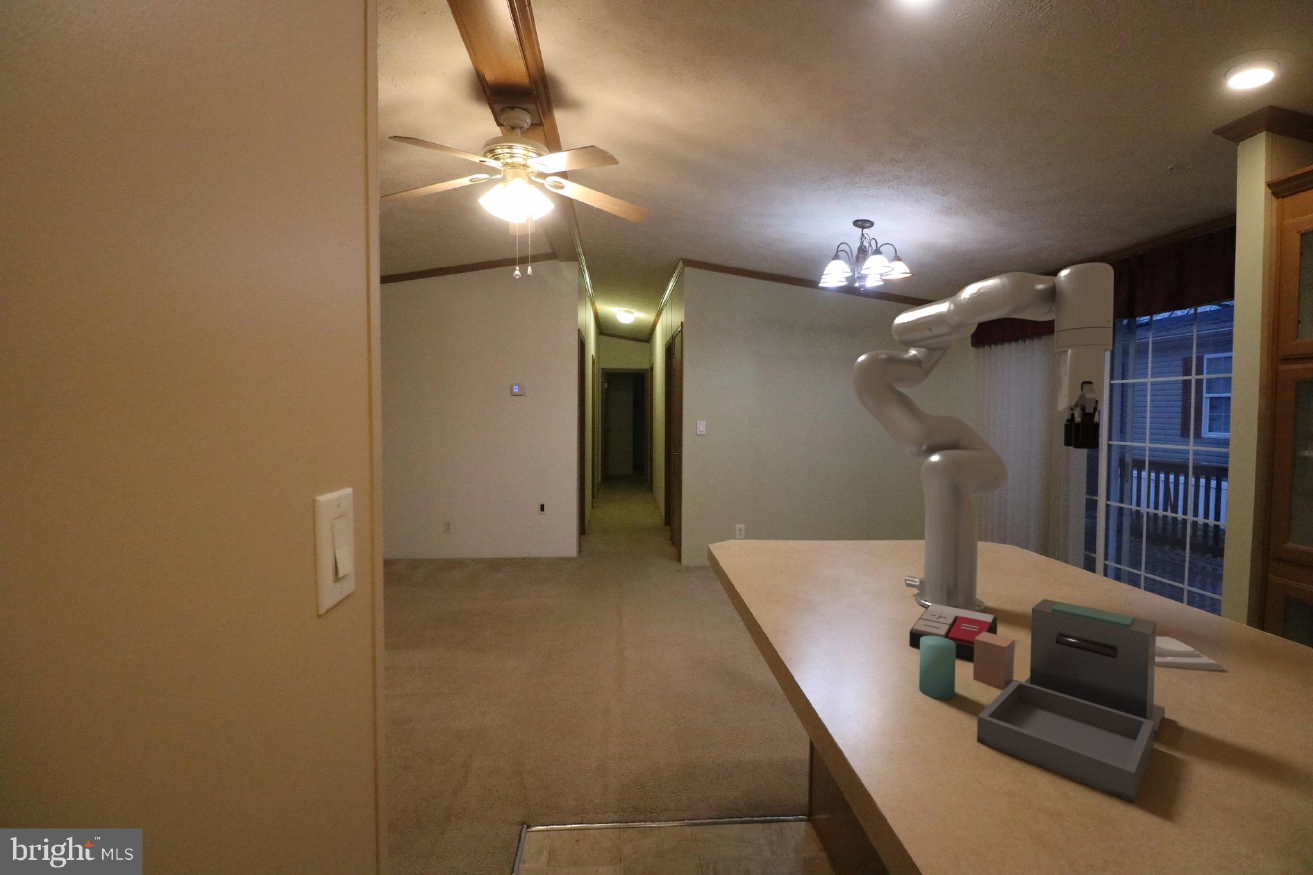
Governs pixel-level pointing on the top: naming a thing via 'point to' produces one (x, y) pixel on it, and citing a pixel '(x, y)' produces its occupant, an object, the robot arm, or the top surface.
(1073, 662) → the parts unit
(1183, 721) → the top surface
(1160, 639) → the light switch
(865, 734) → the top surface
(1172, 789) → the top surface
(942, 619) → the calculator
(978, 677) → the terracotta block
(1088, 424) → the robot arm
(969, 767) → the top surface
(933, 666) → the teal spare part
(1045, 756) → the parts tray
